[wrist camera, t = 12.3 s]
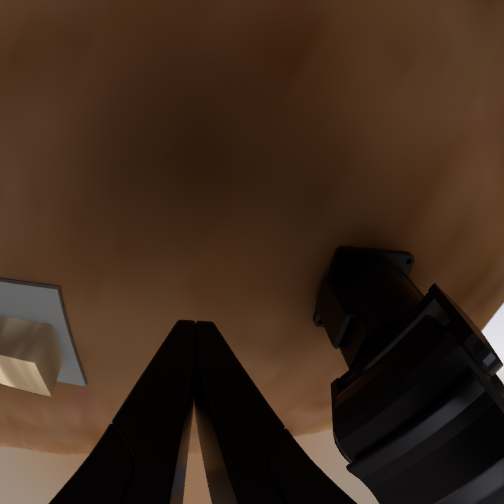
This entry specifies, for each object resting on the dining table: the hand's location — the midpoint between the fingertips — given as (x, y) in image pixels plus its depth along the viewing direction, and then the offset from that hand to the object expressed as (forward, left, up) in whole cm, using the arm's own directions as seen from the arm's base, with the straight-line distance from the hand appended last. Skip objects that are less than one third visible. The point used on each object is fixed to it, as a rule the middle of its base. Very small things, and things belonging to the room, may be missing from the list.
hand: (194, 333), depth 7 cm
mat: (+14, +13, -11) cm, 22 cm away
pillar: (+11, +13, -9) cm, 19 cm away
